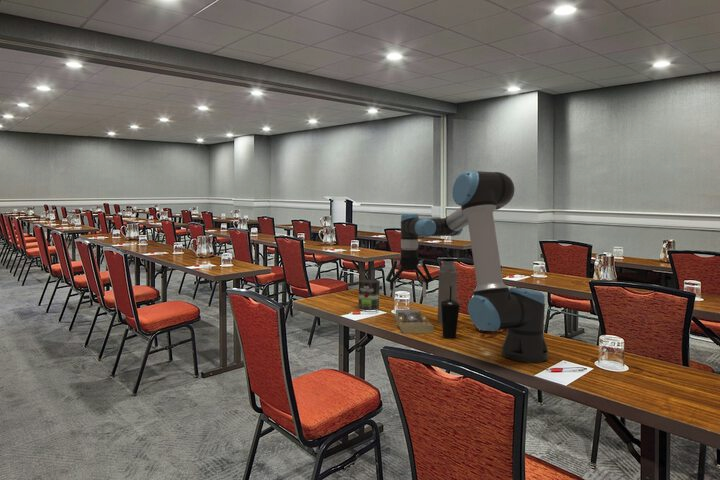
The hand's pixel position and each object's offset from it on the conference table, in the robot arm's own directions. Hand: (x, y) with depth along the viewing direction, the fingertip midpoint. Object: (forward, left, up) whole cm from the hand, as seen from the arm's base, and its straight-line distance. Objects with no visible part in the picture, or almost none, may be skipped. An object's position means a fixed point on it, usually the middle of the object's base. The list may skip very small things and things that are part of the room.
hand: (409, 297), depth 215 cm
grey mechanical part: (-3, 0, -11) cm, 11 cm away
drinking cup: (-25, -11, -11) cm, 29 cm away
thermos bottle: (-1, -17, -11) cm, 20 cm away
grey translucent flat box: (-13, 0, -11) cm, 17 cm away
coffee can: (+26, +14, -11) cm, 31 cm away
